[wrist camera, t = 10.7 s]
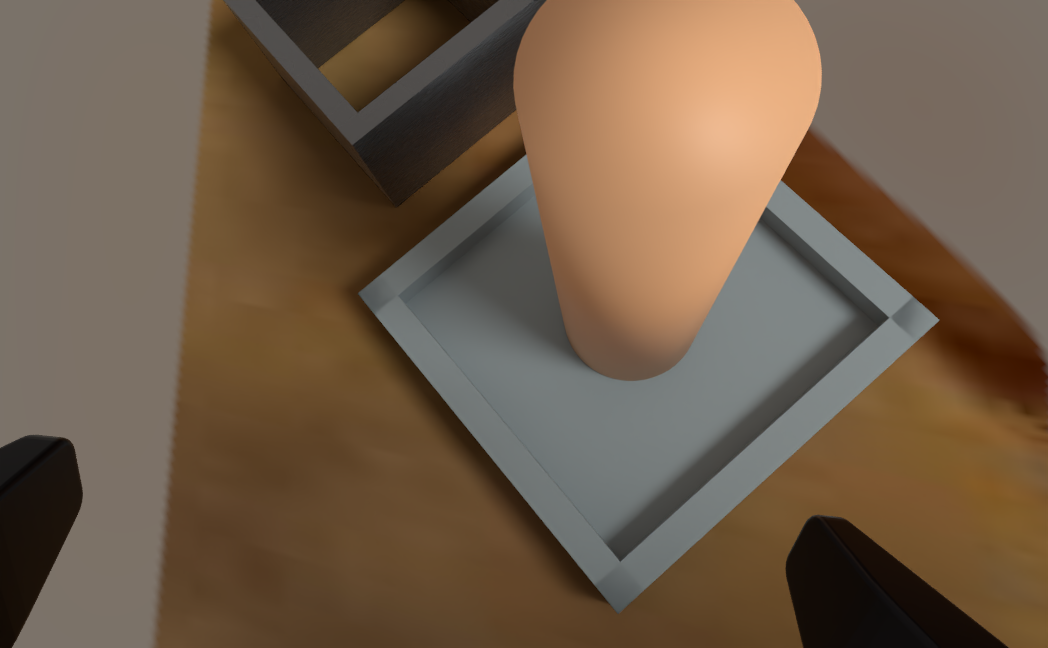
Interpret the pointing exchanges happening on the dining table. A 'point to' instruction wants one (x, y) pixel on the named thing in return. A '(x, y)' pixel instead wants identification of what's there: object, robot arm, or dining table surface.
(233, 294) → the dining table surface
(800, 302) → the tray
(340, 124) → the square socket holder
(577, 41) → the peg
